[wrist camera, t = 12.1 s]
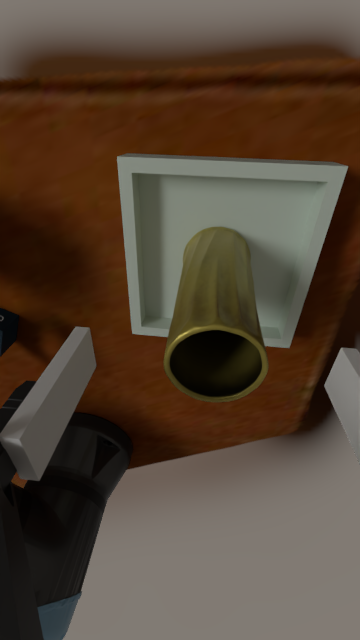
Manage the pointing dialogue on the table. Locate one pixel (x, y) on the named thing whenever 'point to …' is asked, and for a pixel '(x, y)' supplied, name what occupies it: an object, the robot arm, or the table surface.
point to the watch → (7, 329)
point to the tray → (230, 212)
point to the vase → (216, 321)
